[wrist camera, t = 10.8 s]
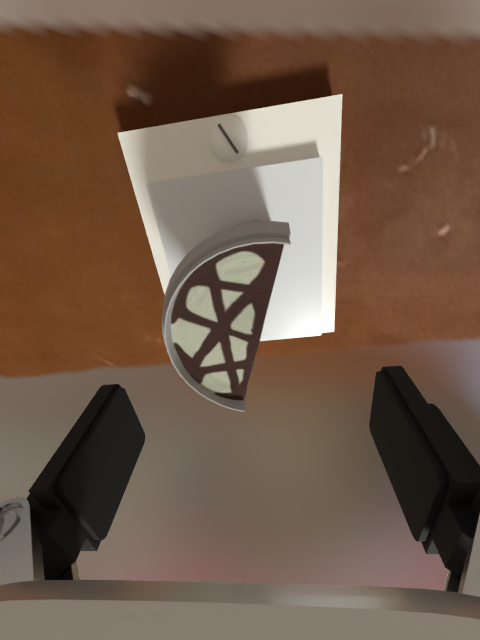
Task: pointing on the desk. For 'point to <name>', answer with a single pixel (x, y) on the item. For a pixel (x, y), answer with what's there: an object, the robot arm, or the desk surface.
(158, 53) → the desk surface
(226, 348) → the food container
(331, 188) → the scale
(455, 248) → the desk surface
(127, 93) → the desk surface
